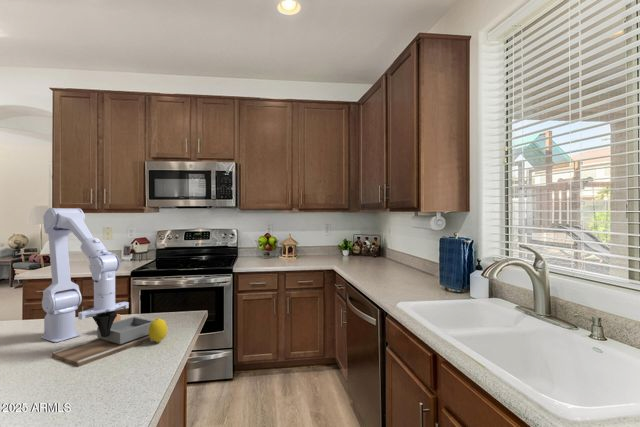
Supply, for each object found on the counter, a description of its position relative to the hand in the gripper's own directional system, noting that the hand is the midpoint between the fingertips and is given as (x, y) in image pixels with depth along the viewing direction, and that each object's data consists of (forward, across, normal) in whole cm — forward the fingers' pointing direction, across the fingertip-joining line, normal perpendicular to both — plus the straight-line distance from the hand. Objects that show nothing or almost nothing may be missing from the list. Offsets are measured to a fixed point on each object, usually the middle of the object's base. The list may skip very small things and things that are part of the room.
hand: (104, 336), depth 109 cm
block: (+4, +10, +12) cm, 16 cm away
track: (+4, +2, 0) cm, 4 cm away
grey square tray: (+3, +8, 0) cm, 8 cm away
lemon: (+4, +11, -11) cm, 16 cm away
